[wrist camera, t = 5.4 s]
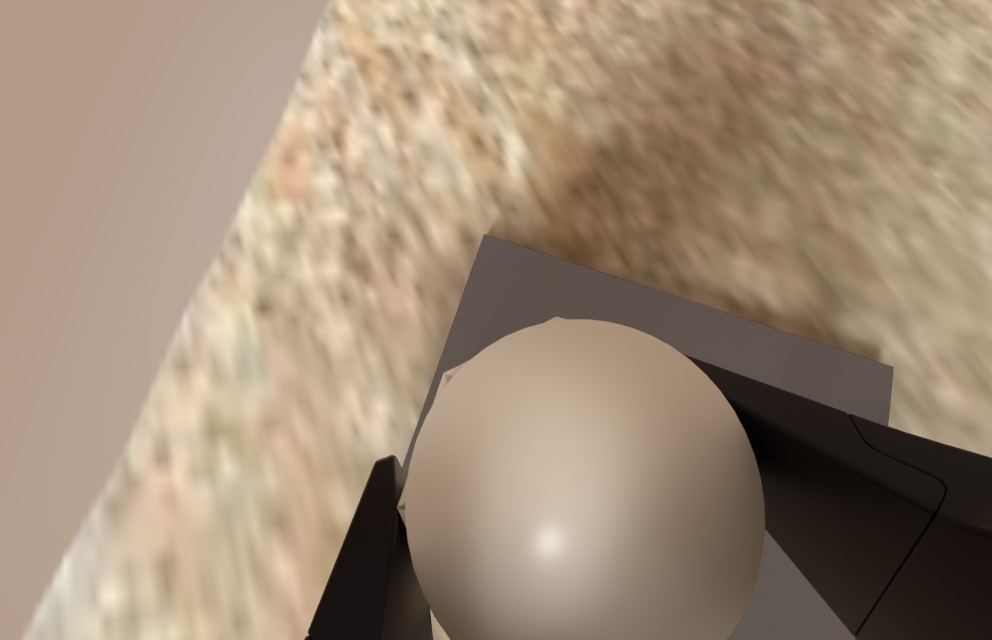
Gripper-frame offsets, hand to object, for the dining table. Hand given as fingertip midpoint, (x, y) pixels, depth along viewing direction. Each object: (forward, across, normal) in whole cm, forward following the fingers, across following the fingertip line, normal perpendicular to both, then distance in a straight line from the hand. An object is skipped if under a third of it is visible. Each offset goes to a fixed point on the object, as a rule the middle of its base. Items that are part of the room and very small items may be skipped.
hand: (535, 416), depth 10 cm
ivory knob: (+4, 0, +6) cm, 7 cm away
